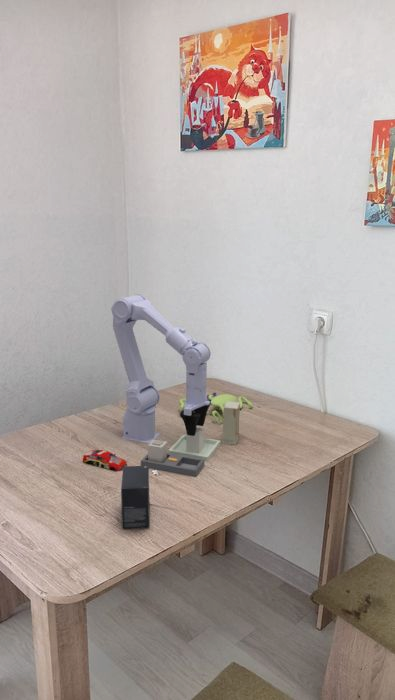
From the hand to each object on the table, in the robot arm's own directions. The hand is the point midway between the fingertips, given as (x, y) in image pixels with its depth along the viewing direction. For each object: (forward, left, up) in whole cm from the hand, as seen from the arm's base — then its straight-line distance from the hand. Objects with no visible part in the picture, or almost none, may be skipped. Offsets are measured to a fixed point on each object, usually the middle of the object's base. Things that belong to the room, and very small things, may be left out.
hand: (195, 430), depth 164 cm
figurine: (-4, +33, -7) cm, 34 cm away
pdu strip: (-2, -12, -7) cm, 14 cm away
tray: (0, 0, -7) cm, 7 cm away
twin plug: (-7, -12, -6) cm, 15 cm away
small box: (-1, -38, -7) cm, 39 cm away
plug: (0, 0, -6) cm, 6 cm away
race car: (-20, -18, -7) cm, 28 cm away
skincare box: (+8, +10, -7) cm, 14 cm away
